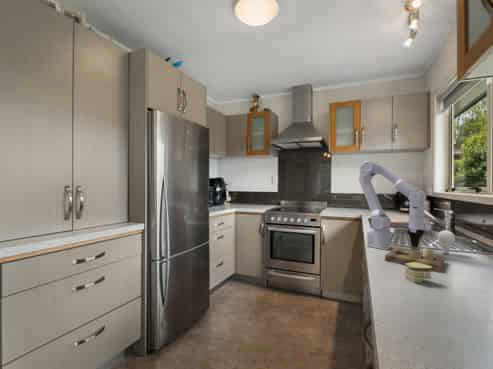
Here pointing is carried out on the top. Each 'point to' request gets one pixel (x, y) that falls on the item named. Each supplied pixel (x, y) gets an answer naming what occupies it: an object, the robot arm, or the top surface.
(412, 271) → the stacked layers on plate
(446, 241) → the lightbulb
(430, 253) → the peg
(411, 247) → the beech peg
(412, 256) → the pegboard
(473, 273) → the top surface
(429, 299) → the top surface
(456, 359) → the top surface
